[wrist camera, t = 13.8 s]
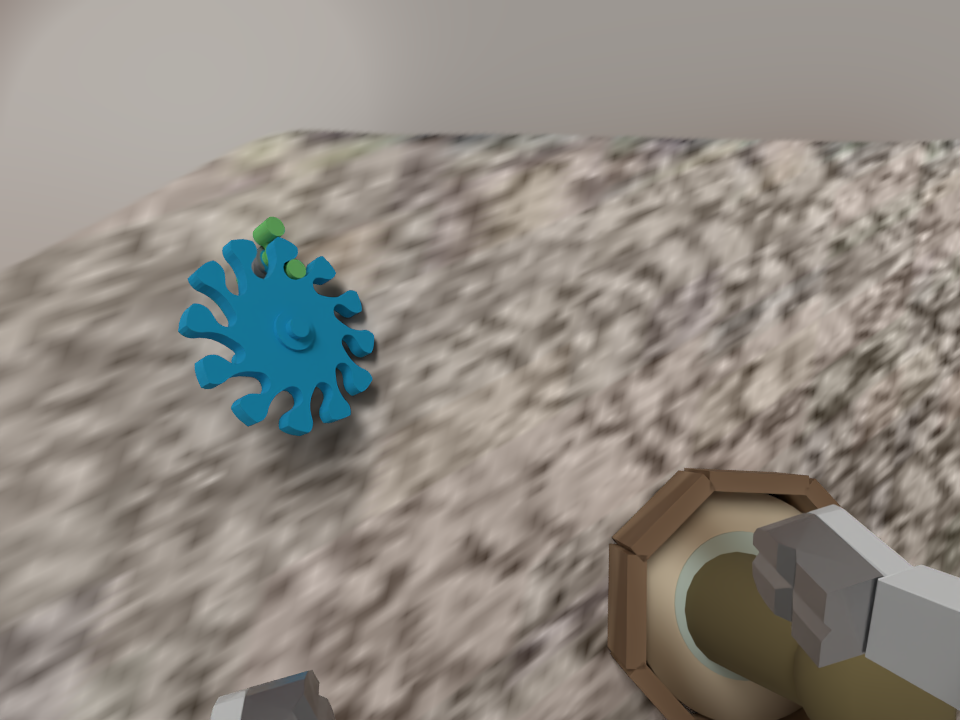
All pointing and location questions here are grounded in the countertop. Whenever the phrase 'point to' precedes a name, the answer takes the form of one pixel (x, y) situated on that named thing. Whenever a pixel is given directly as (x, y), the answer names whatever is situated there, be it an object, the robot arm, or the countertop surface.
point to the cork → (791, 653)
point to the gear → (278, 330)
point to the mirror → (668, 574)
